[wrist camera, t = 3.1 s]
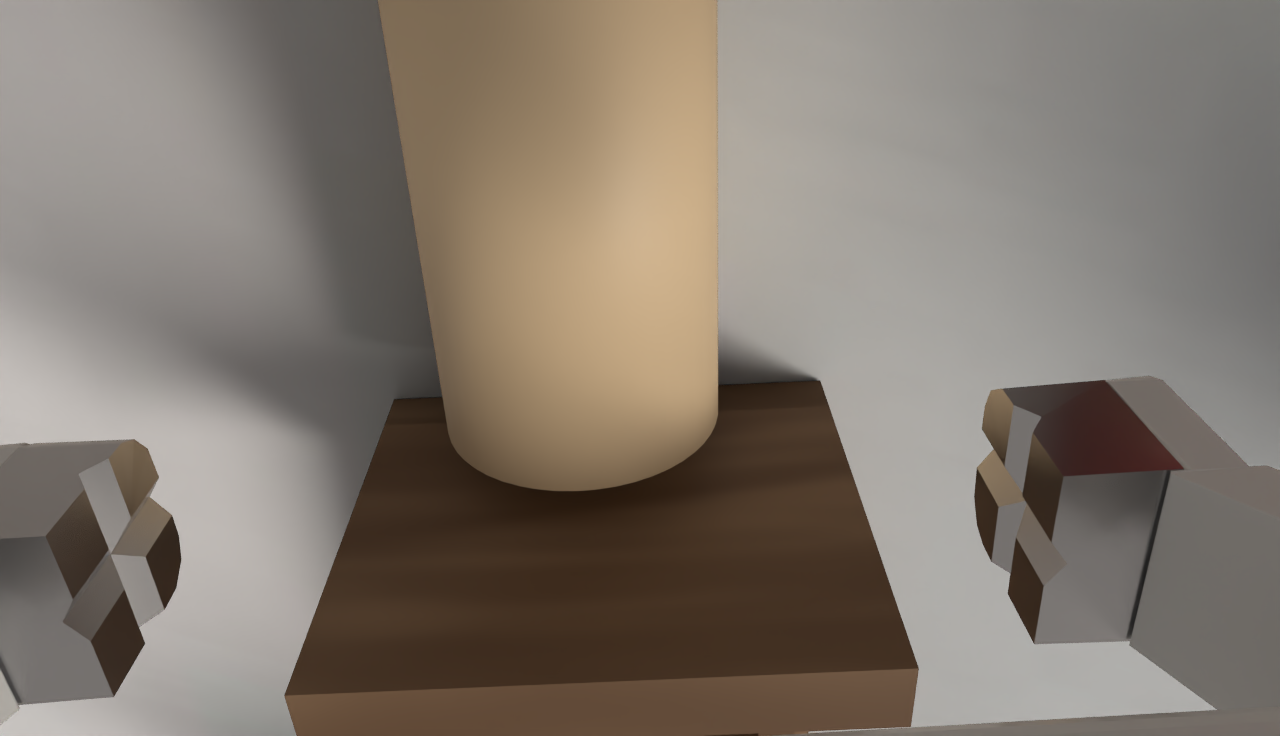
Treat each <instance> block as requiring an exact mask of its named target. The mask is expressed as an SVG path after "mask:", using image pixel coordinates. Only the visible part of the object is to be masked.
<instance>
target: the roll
mask: <svg viewBox="0 0 1280 736" xmlns="http://www.w3.org/2000/svg"><path fill="white" fill-rule="evenodd" d="M378 5H379V11H380V17H381V23H382V29H383V36H384V42H385V48H386V54H387V60H388V66H389V72H390V78H391V85H392V91H393V97H394V103H395V109H396V115H397V121H398V128H399V134H400V140H401V146H402V152H403V158H404V164H405V170H406V177H407V183H408V189H409V195H410V201H411V207H412V213H413V220H414V226H415V232H416V238H417V244H418V250H419V256H420V262H421V269H422V275H423V281H424V287H425V293H426V299H427V305H428V312H429V318H430V324H431V330H432V336H433V342H434V348H435V354H436V361H437V367H438V373H439V379H440V385H441V391H442V397H443V404H444V410H445V416H446V422H447V428H448V434H449V437H450V440H451V443H452V445H453V447H454V448H455V450H456V452H457V453H458V454H459V455H460V456H461V457H462V458H463V459H464V460H465V461H466V462H467V463H468V464H470V465H471V466H472V467H474V468H475V469H477V470H479V471H480V472H482V473H484V474H486V475H488V476H490V477H493V478H495V479H498V480H500V481H503V482H506V483H510V484H513V485H517V486H521V487H527V488H532V489H539V490H550V491H586V490H598V489H604V488H611V487H617V486H621V485H625V484H629V483H634V482H637V481H640V480H643V479H646V478H649V477H652V476H654V475H657V474H659V473H661V472H664V471H666V470H668V469H670V468H672V467H674V466H675V465H677V464H679V463H681V462H682V461H684V460H685V459H687V458H688V457H689V456H691V455H692V454H693V453H695V452H696V451H697V450H698V449H699V448H700V447H701V446H702V445H703V444H704V443H705V441H706V440H707V439H708V437H709V436H710V435H711V433H712V431H713V429H714V427H715V425H716V421H717V417H718V93H717V0H378Z"/></svg>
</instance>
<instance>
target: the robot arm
mask: <svg viewBox="0 0 1280 736" xmlns="http://www.w3.org/2000/svg"><path fill="white" fill-rule="evenodd" d="M982 430H983V431H984V433H985V435H986V436H987V438H988V440H989V441H990V443H991V445H992V447H993V448H994V450H993V451H992V452H991V453H990V454H989V455H988V456H987V457H986V458H985V460H984V461H983V462H982V463H981V464H980V465H979V466H978V467H977V474H976V485H975V496H974V498H975V508H976V519H977V526H978V529H979V533H980V536H981V539H982V543H983V545H984V547H985V549H986V551H987V554H988V556H989V558H990V560H991V562H993V563H994V564H996V565H998V566H999V567H1001V568H1003V569H1004V570H1006V571H1008V572H1009V573H1011V575H1010V582H1009V589H1008V595H1009V597H1010V599H1011V601H1012V603H1013V604H1014V606H1015V608H1016V610H1017V612H1018V614H1019V616H1020V618H1021V620H1022V622H1023V624H1024V625H1025V627H1026V629H1027V631H1028V633H1029V635H1030V637H1031V639H1032V641H1033V643H1034V644H1052V643H1084V642H1116V641H1130V646H1131V647H1133V648H1134V649H1135V650H1137V651H1138V652H1139V653H1141V654H1142V655H1144V656H1145V657H1146V658H1148V659H1149V660H1150V661H1152V662H1153V663H1154V664H1156V665H1157V666H1158V667H1160V668H1161V669H1163V670H1164V671H1165V672H1167V673H1168V674H1169V675H1171V676H1172V677H1173V678H1175V679H1176V680H1178V681H1179V682H1180V683H1182V684H1183V685H1184V686H1186V687H1187V688H1188V689H1190V690H1191V691H1193V692H1194V693H1195V694H1197V695H1198V696H1199V697H1201V698H1202V699H1203V700H1205V701H1206V702H1208V703H1209V704H1210V705H1212V706H1213V707H1214V708H1216V709H1217V710H1210V711H1192V712H1175V713H1157V714H1140V715H1122V716H1105V717H1087V718H1070V719H1052V720H1035V721H1017V722H1000V723H982V724H965V725H947V726H930V727H912V728H895V729H877V730H860V731H842V732H825V733H807V734H790V735H772V736H1280V471H1279V470H1277V469H1274V468H1272V467H1269V466H1250V467H1249V466H1248V465H1247V464H1246V463H1245V462H1244V461H1243V460H1242V459H1241V458H1240V457H1239V456H1238V455H1237V454H1236V453H1235V452H1234V451H1233V450H1232V449H1231V448H1230V447H1229V446H1228V445H1227V444H1226V443H1225V442H1224V441H1223V440H1222V439H1221V438H1220V437H1219V436H1218V435H1217V434H1216V433H1215V432H1214V431H1213V430H1212V429H1211V428H1210V427H1209V426H1208V425H1207V424H1206V423H1205V422H1204V421H1203V420H1202V419H1201V418H1200V417H1199V416H1198V415H1197V414H1196V413H1195V412H1194V411H1193V410H1192V409H1191V408H1190V407H1189V406H1188V405H1187V404H1186V403H1185V402H1184V401H1183V400H1182V399H1181V398H1180V397H1179V396H1178V395H1177V394H1176V393H1175V392H1174V391H1173V390H1172V389H1171V388H1170V387H1169V386H1168V385H1167V384H1166V383H1165V382H1164V381H1163V380H1161V379H1158V378H1155V377H1152V376H1143V377H1133V378H1123V379H1112V380H1100V381H1088V382H1076V383H1064V384H1052V385H1040V386H1028V387H1016V388H1004V389H997V390H992V391H991V392H990V394H989V397H988V400H987V402H986V405H985V410H984V418H983V425H982ZM158 478H159V476H158V474H157V471H156V469H155V466H154V464H153V461H152V459H151V456H150V454H149V451H148V449H147V448H146V447H144V446H143V445H141V444H140V443H139V442H137V441H136V440H134V439H130V440H106V441H81V442H56V443H34V444H27V443H19V444H7V445H0V725H1V724H2V723H3V722H5V721H6V720H7V719H8V718H10V717H11V716H12V715H13V714H15V713H16V712H17V711H18V710H19V709H20V708H19V705H23V704H35V703H47V702H59V701H70V700H82V699H94V698H106V697H114V696H115V694H116V692H117V691H118V689H119V687H120V685H121V684H122V682H123V680H124V679H125V677H126V675H127V673H128V672H129V670H130V668H131V667H132V665H133V663H134V661H135V660H136V658H137V656H138V655H139V653H140V651H141V649H142V648H143V646H144V644H145V642H144V640H143V637H142V634H141V632H140V629H139V627H140V626H142V625H143V624H144V623H146V622H147V621H149V620H150V619H152V618H153V617H155V616H156V615H158V614H159V613H160V612H162V611H163V610H165V608H166V606H167V604H168V602H169V600H170V599H171V597H172V595H173V593H174V591H175V589H176V586H177V580H178V575H179V569H180V564H181V553H180V543H179V535H178V532H177V529H176V526H175V523H174V520H173V517H172V515H171V514H170V513H169V512H167V511H166V510H165V509H164V508H162V507H161V506H160V505H159V504H157V503H156V502H155V501H154V500H153V499H151V498H150V495H151V493H152V491H153V489H154V487H155V485H156V482H157V480H158Z"/></svg>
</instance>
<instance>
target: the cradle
mask: <svg viewBox="0 0 1280 736" xmlns="http://www.w3.org/2000/svg"><path fill="white" fill-rule="evenodd" d="M918 670H919V668H918V665H917V662H916V659H915V656H914V654H913V651H912V648H911V645H910V642H909V639H908V636H907V633H906V630H905V627H904V624H903V621H902V618H901V616H900V613H899V610H898V607H897V604H896V601H895V598H894V595H893V592H892V589H891V586H890V583H889V580H888V578H887V575H886V572H885V569H884V566H883V563H882V560H881V557H880V554H879V551H878V548H877V545H876V543H875V540H874V537H873V534H872V531H871V528H870V525H869V522H868V519H867V516H866V513H865V510H864V507H863V505H862V502H861V499H860V496H859V493H858V490H857V487H856V484H855V481H854V478H853V475H852V472H851V469H850V467H849V464H848V461H847V458H846V455H845V452H844V449H843V446H842V443H841V440H840V437H839V434H838V431H837V429H836V426H835V423H834V420H833V417H832V414H831V411H830V408H829V405H828V402H827V399H826V396H825V394H824V391H823V388H822V385H821V382H820V381H802V382H780V383H757V384H734V385H718V417H717V421H716V425H715V427H714V429H713V431H712V433H711V435H710V436H709V437H708V439H707V440H706V441H705V443H704V444H703V445H702V446H701V447H700V448H699V449H698V450H697V451H696V452H695V453H693V454H692V455H691V456H689V457H688V458H687V459H685V460H684V461H682V462H681V463H679V464H677V465H675V466H674V467H672V468H670V469H668V470H666V471H664V472H661V473H659V474H657V475H654V476H652V477H649V478H646V479H643V480H640V481H637V482H634V483H629V484H625V485H621V486H617V487H611V488H604V489H598V490H586V491H550V490H539V489H532V488H527V487H521V486H517V485H513V484H510V483H506V482H503V481H500V480H498V479H495V478H493V477H490V476H488V475H486V474H484V473H482V472H480V471H479V470H477V469H475V468H474V467H472V466H471V465H470V464H468V463H467V462H466V461H465V460H464V459H463V458H462V457H461V456H460V455H459V454H458V453H457V452H456V450H455V448H454V447H453V445H452V443H451V440H450V437H449V434H448V428H447V422H446V416H445V410H444V404H443V397H439V398H417V399H394V401H393V404H392V407H391V410H390V412H389V415H388V418H387V420H386V423H385V426H384V428H383V431H382V434H381V436H380V439H379V442H378V445H377V447H376V450H375V453H374V455H373V458H372V461H371V463H370V466H369V469H368V472H367V474H366V477H365V480H364V482H363V485H362V488H361V490H360V493H359V496H358V498H357V501H356V504H355V507H354V509H353V512H352V515H351V517H350V520H349V523H348V525H347V528H346V531H345V534H344V536H343V539H342V542H341V544H340V547H339V550H338V552H337V555H336V558H335V561H334V563H333V566H332V569H331V571H330V574H329V577H328V579H327V582H326V585H325V587H324V590H323V593H322V596H321V598H320V601H319V604H318V606H317V609H316V612H315V614H314V617H313V620H312V623H311V625H310V628H309V631H308V633H307V636H306V639H305V641H304V644H303V647H302V649H301V652H300V655H299V658H298V660H297V663H296V666H295V668H294V671H293V674H292V676H291V679H290V682H289V685H288V687H287V690H286V693H285V695H284V696H285V699H286V703H287V706H288V709H289V712H290V716H291V719H292V722H293V725H294V728H295V732H296V735H297V736H772V735H790V734H807V733H808V731H824V730H848V729H871V728H895V727H911V721H912V713H913V706H914V699H915V691H916V684H917V677H918Z"/></svg>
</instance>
